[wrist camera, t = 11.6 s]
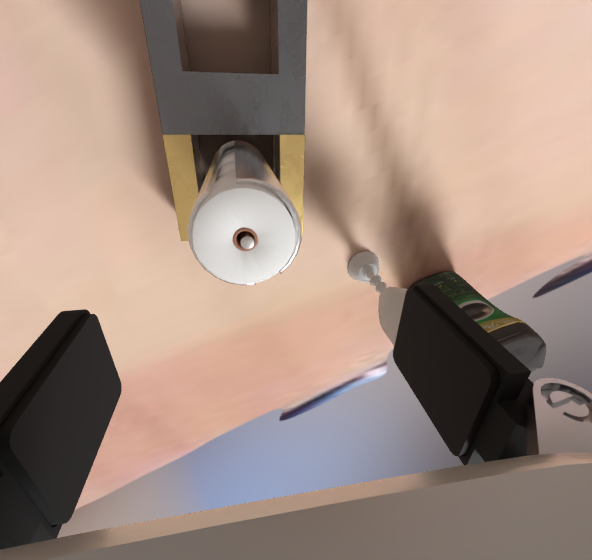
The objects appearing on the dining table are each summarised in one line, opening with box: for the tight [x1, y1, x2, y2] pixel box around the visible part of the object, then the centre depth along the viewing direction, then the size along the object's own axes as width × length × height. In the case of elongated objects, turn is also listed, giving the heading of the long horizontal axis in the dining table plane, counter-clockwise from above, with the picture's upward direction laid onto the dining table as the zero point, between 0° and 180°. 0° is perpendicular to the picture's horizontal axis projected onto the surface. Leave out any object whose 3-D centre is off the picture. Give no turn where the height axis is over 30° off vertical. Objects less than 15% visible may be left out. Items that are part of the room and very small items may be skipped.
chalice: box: [348, 251, 408, 346], centre depth 41 cm, size 7×7×18 cm
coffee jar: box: [415, 271, 546, 372], centre depth 45 cm, size 10×8×19 cm
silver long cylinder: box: [187, 141, 302, 285], centre depth 28 cm, size 6×6×25 cm
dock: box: [140, 0, 307, 241], centre depth 33 cm, size 27×14×6 cm, turn 179°
